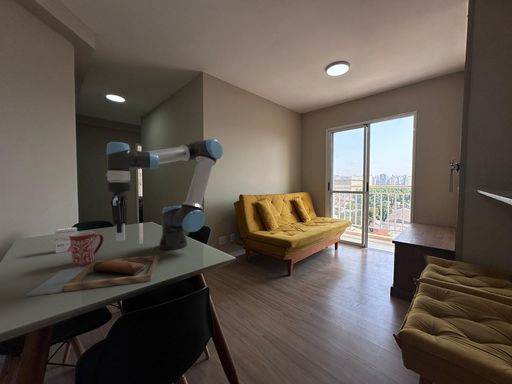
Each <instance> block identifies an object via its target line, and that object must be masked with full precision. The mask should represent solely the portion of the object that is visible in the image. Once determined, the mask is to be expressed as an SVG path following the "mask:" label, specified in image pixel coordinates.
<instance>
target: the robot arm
mask: <svg viewBox="0 0 512 384" xmlns="http://www.w3.org/2000/svg"><path fill="white" fill-rule="evenodd" d="M223 153H224V152H223V146H222V144H221V143H220V142H219V140H217V139H216V138H207V139H204V140H196V141H193V142H190V143H186V144H185V143H184V144H181V145H179V146H177V147H168V148H163V149H162V148H161V149H155V150H147V151H145V150H144V151H143V150H136V149H135V150H134V149H131V148H130V145H129V144H128V143H125V142H119V141H111V142H108V143H107V144H106V153H105V155H106V166H107V167H106V169H107V173H105V176H106V177H107V181H108V183H107V192H108V193H112V198H111V199H112V200H110V206H111V212H112V221H113V223H112V225H113V226H115V241H116V242H120V241H125V240H126V225H125V224H127V223H128V221H127V212H128V210H127V208H128V200H129V199H128V198H127V196H126V193H129V192H130V191H131V183H130V182H131V170H145V169H146V170H156V169H157V168H158V167H159V165H162V164H168V163H173V162H178V161H179V162H180V161H183V162H188V161H196V165H195V169H194V172H193V176H192V179H191V182H190V186H189V190H188V192H187V196H186V199H185V201H184V202H183V203H181V205H174V206H164V207H163V208H162V211H161V220H162V222H161V225H162V232H161V233H162V234H161V237H160V239H159V243H158V248H159V249H161V250H169V251H171V250H179V249H182V248H185V247H187V246H188V239H187V236H186V234H185V232H188V233H191V232H192V233H195V232H198V231H199V230H200V229H201V228H203V226H204V225H205V221H206V218H205V217H206V216H205V213H204V208H203V206H202V205H203V201H204V198H205V193H206V190H207V185H208V183H209V180H210V175H211V172H212V168H213V167H214V166H216V164H217V160H219V159H221V158H222V157H223Z"/></svg>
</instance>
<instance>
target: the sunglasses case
mask: <svg viewBox="0 0 512 384" xmlns="http://www.w3.org/2000/svg"><path fill="white" fill-rule="evenodd" d="M106 260H107V261H102V262H98V263H96V264H95V265H94V267H93V272H101V273H102V272H105V273H106V272H109V273H117V274H126V275H132V276H137V274H139V273H140V272H141V271H143V270H144V269H145V268H146V267H147V266H146V265H145V264H143V263H141V262H128V260H112V259H106Z"/></svg>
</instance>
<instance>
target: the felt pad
mask: <svg viewBox="0 0 512 384" xmlns="http://www.w3.org/2000/svg"><path fill="white" fill-rule="evenodd" d="M85 268H86V267H80V268H70V269H61V270H60V271H59V272H58V273H56V274H54V275H53V276H52V277H50V278H49V279H47V280H46V281H44V282H43V283H41V284H40V285H38V286H37V287H36V288H34V289H33V290H30V292H28V293H27V294H25V298H28V297H36V296H37V297H38V296H42V295H52V294H60V293H63V292H64V285H65V284H67V283H68V282H69V281H70V280H71V279H73V278H74V277H75V276H76V275H78V274H79V273H80V272H81V271H83V270H84V269H85Z"/></svg>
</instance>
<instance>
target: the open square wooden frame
mask: <svg viewBox="0 0 512 384" xmlns="http://www.w3.org/2000/svg"><path fill="white" fill-rule="evenodd" d="M107 260H108V259H102V260H94V261H93V262H91V263H89V265H88V266H85V267H84V268H85V269H84V270H83V271H81V272H80V273H79V274H78V275H76V276H75V277H74V278H73V279H71V280H70V281H69V282H68V283H67V284H65V285H64V291H63V292H64V293H65V292H70V291H71V292H72V291H79V290H87V289H94V288H95V289H96V288H104V287H105V288H106V287H111V286H112V287H113V286H120V285H128V284H136V283H143V282H151V281H152V279H153V276H154V273H155V272H156V268H157V266H158V263H159V261H160V255H159V254H157V255H148V256H145V255H144V256H136V257H135V256H134V257H124V258H114V259H111V260H128V262H135V263H141V262H142V263H143V262H151V265H150V267H149V269H148V271H147V273H146V274H138V275H137V274H136V275H130V276H122V277H121V276H120V277H112V278H104V279H96V280H95V279H94V280H85V281H83V280H84V278H86V277H87V276H88V275H89V274H90V273H91V272H94V270H93V267H94V265H95V264H96V263H98V262H102V261H107Z"/></svg>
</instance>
